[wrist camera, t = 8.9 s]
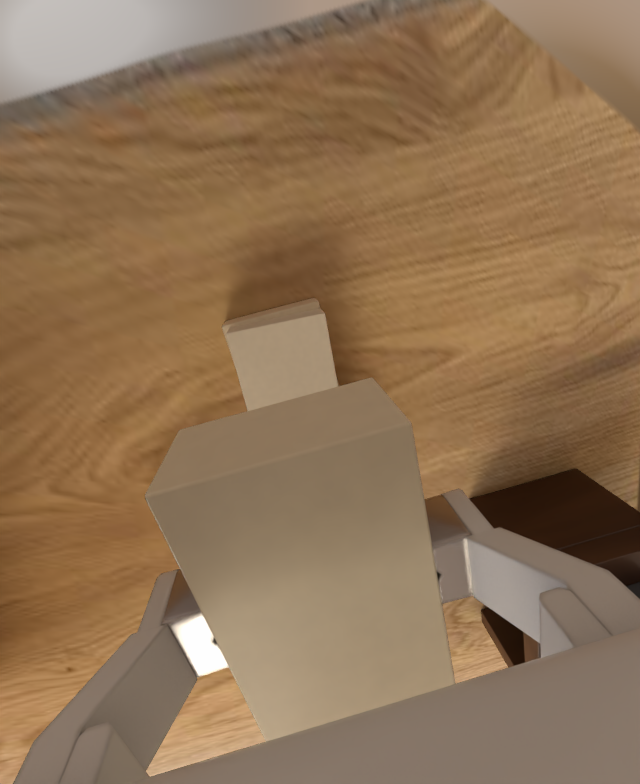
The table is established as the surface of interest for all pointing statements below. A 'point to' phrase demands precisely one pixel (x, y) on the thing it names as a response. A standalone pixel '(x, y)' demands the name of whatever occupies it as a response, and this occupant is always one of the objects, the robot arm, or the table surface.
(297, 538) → the beige rectangular block
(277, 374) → the cream books
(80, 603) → the table surface
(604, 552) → the walnut shelf
